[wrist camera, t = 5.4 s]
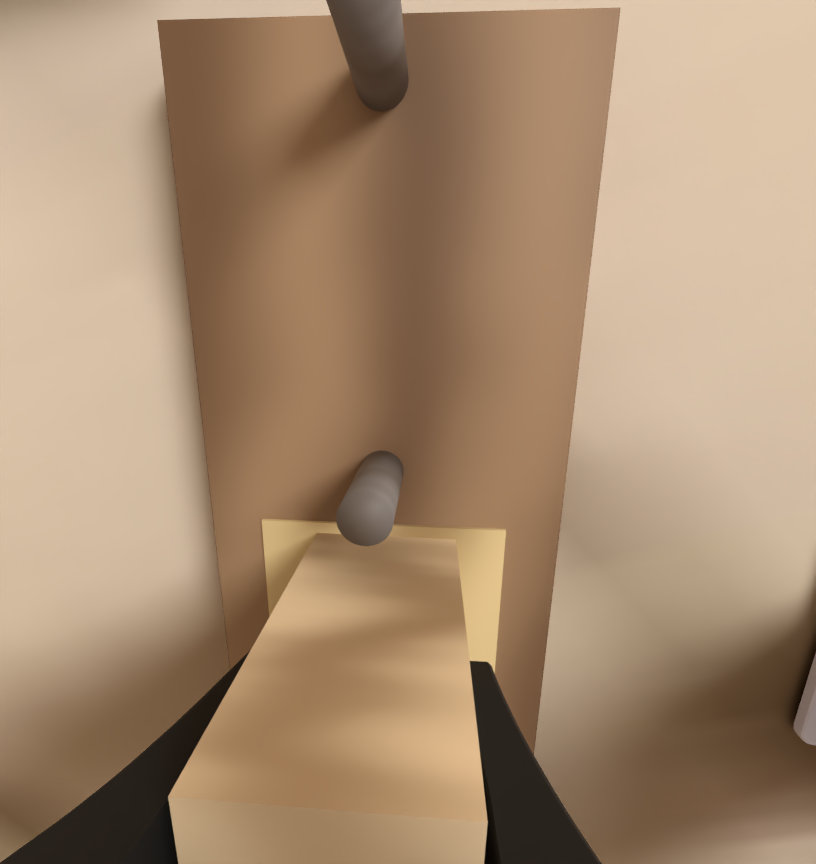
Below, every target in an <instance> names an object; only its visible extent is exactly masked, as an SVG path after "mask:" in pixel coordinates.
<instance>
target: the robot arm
mask: <svg viewBox="0 0 816 864" xmlns="http://www.w3.org/2000/svg"><path fill="white" fill-rule="evenodd" d="M250 651H251V650H250ZM250 651H249V652H250ZM249 652H248V653H247V654H246V655H245V656H244V657H243V658H242V659H241V660H240V661H239V662H238V663H237V664H236V665H235V666H234V667H233V668H232V669H231V670H230V671H229V672H228V673H227V674H226V675H225V676H224V677H223V678H222V679H221V680H220V681H219V682H218V683H217V684H215V685H214V686H213V687H212V688H211V689H210V690H209V691H208V692H207V693H206V694H205V695H204V696H203V697H202V698H201V699H200V700H199V701H198V702H197V703H196V704H195V705H194V706H193V707H192V708H191V709H190V710H189V711H188V712H186V713H185V714H184V715H183V716H182V717H181V718H180V719H179V720H178V721H177V722H176V723H175V724H174V725H173V726H172V727H171V728H170V729H168V730H167V731H166V732H165V733H164V734H163V735H162V736H161V737H159V738H158V739H157V740H156V741H155V742H154V743H153V744H152V745H150V746H149V747H148V748H147V749H146V750H145V751H144V752H143V753H141V754H140V755H139V756H138V757H137V758H136V759H135V760H134V761H132V762H131V763H130V764H129V765H128V766H127V767H125V768H124V769H123V770H122V771H121V772H119V773H118V774H117V775H116V776H115V777H113V778H112V779H111V780H110V781H109V782H107V783H106V784H105V785H104V786H102V787H101V788H100V789H99V790H98V791H96V792H95V793H94V794H92V795H91V796H90V797H89V798H87V799H86V800H85V801H84V802H82V803H81V804H80V805H79V806H77V807H76V808H75V809H73V810H72V811H71V812H70V813H68V814H67V815H66V816H64V817H63V818H62V819H60V820H59V821H58V822H56V823H55V824H53V825H52V826H51V827H49V828H48V829H46V830H45V831H44V832H42V833H41V834H40V835H38V836H37V837H35V838H34V839H33V840H31V841H30V842H28V843H27V844H26V845H24V846H23V847H21V848H20V849H19V850H17V851H16V852H14V853H13V854H12V855H10V856H9V857H7V858H6V859H5V860H3V861H2V862H1V863H0V864H178V858H177V852H176V845H175V839H174V832H173V826H172V819H171V813H170V806H169V800H168V796H169V794H170V792H171V790H172V789H173V787H174V785H175V783H176V782H177V780H178V778H179V776H180V774H181V773H182V771H183V769H184V767H185V766H186V764H187V762H188V760H189V759H190V757H191V755H192V753H193V751H194V750H195V748H196V746H197V744H198V743H199V741H200V739H201V737H202V736H203V734H204V732H205V730H206V728H207V727H208V725H209V723H210V721H211V720H212V718H213V716H214V714H215V713H216V711H217V709H218V707H219V705H220V704H221V702H222V700H223V698H224V697H225V695H226V693H227V691H228V690H229V688H230V686H231V684H232V682H233V681H234V679H235V677H236V675H237V674H238V672H239V670H240V668H241V667H242V665H243V663H244V661H245V659H246V658H247V656H248V654H249ZM470 669H471V678H472V687H473V696H474V704H475V713H476V722H477V731H478V740H479V749H480V758H481V767H482V776H483V784H484V793H485V802H486V811H487V820H488V825H487V836H486V847H485V858H484V864H601V862H600V861H599V859H598V858H597V856H596V855H595V853H594V852H593V850H592V849H591V847H590V846H589V844H588V843H587V841H586V840H585V838H584V837H583V836H582V834H581V833H580V831H579V830H578V828H577V826H576V825H575V823H574V822H573V820H572V819H571V817H570V816H569V814H568V812H567V811H566V809H565V808H564V806H563V804H562V803H561V801H560V799H559V798H558V796H557V794H556V793H555V791H554V789H553V788H552V786H551V784H550V783H549V781H548V779H547V778H546V776H545V774H544V773H543V771H542V769H541V767H540V765H539V764H538V762H537V760H536V758H535V757H534V755H533V753H532V751H531V749H530V747H529V745H528V743H527V742H526V740H525V738H524V736H523V734H522V732H521V730H520V728H519V726H518V725H517V723H516V721H515V719H514V717H513V714H512V712H511V710H510V708H509V706H508V704H507V702H506V700H505V697H504V695H503V693H502V691H501V688H500V686H499V684H498V681H497V679H496V676H495V674H494V671H493V668H492V666H491V665H490V664H489V663H488V662H482V661H470ZM793 729H794V730H795V732H796V733H797V735H798V736H799V737H800V738H801V739H802V740H803V741H804V742H805V743H807V744H811V745H816V653H815V657H814V660H813V663H812V666H811V670H810V673H809V676H808V679H807V682H806V686H805V689H804V692H803V695H802V699H801V702H800V705H799V708H798V711H797V715H796V718H795V721H794V728H793Z"/></svg>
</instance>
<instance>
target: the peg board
mask: <svg viewBox="0 0 816 864" xmlns="http://www.w3.org/2000/svg"><path fill="white" fill-rule="evenodd" d="M326 1H327V4H328V7H329V10H330V13H331V16H296V17H259V18H222V19H186V20H157V22H158V31H159V40H160V49H161V58H162V66H163V75H164V84H165V93H166V102H167V111H168V120H169V129H170V138H171V147H172V156H173V165H174V173H175V182H176V191H177V200H178V209H179V218H180V227H181V236H182V245H183V254H184V263H185V272H186V281H187V289H188V298H189V307H190V316H191V325H192V334H193V343H194V352H195V361H196V370H197V379H198V388H199V396H200V405H201V414H202V423H203V432H204V441H205V450H206V459H207V468H208V477H209V486H210V495H211V504H212V512H213V521H214V530H215V539H216V548H217V557H218V566H219V575H220V584H221V593H222V602H223V611H224V619H225V628H226V637H227V646H228V655H229V664H230V670H231V669H232V668H233V667H234V666H235V665H236V664H237V663H238V662H239V661H240V660H241V659H242V658H243V657H244V656H245V655H246V654H247V653H248V652H249V651H250V650H251V649H252V647H253V645H254V644H255V642H256V640H257V638H258V636H259V635H260V633H261V631H262V629H263V628H264V626H265V624H266V622H267V621H268V619H269V617H270V615H271V613H272V612H273V610H274V608H275V606H276V605H277V603H278V601H279V599H280V598H281V596H282V594H283V592H284V590H285V589H286V587H287V585H288V583H289V582H290V580H291V578H292V576H293V575H294V573H295V571H296V569H297V567H298V566H299V564H300V562H301V560H302V559H303V557H304V555H305V553H306V552H307V550H308V548H309V546H310V544H311V543H312V541H313V539H314V537H315V536H316V534H317V533H330V534H342V535H343V536H344V537H345V538H346V539H347V540H348V541H350V542H351V543H354V544H356V545H360V546H373V545H376V544H379V543H381V542H382V541H384V540H385V539H386V538H387V537H388V536H392V537H412V538H432V539H452V540H456V544H457V553H458V562H459V571H460V580H461V589H462V598H463V607H464V616H465V624H466V633H467V642H468V651H469V660H470V661H482V662H488V663H489V664H490V665H491V666H492V668H493V671H494V674H495V676H496V679H497V681H498V684H499V686H500V688H501V691H502V693H503V695H504V697H505V700H506V702H507V704H508V706H509V708H510V710H511V712H512V714H513V717H514V719H515V721H516V723H517V725H518V726H519V728H520V730H521V732H522V734H523V736H524V738H525V740H526V742H527V743H528V745H529V747H530V749H531V751H532V753H533V755H534V748H535V739H536V730H537V722H538V713H539V705H540V696H541V687H542V679H543V670H544V662H545V653H546V644H547V636H548V627H549V618H550V610H551V601H552V593H553V584H554V575H555V567H556V558H557V550H558V541H559V532H560V524H561V515H562V506H563V498H564V489H565V481H566V472H567V463H568V455H569V446H570V438H571V429H572V420H573V412H574V403H575V395H576V386H577V377H578V369H579V360H580V351H581V343H582V334H583V326H584V317H585V308H586V300H587V291H588V283H589V274H590V265H591V257H592V248H593V239H594V231H595V222H596V214H597V205H598V196H599V188H600V179H601V171H602V162H603V153H604V145H605V136H606V128H607V119H608V110H609V102H610V93H611V84H612V76H613V67H614V59H615V50H616V41H617V33H618V24H619V16H620V8H591V9H554V10H517V11H480V12H443V13H407V14H402V9H401V0H326Z"/></svg>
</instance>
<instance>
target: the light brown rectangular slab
mask: <svg viewBox="0 0 816 864" xmlns="http://www.w3.org/2000/svg"><path fill="white" fill-rule="evenodd" d="M168 800H169V806H170V813H171V819H172V826H173V832H174V839H175V845H176V852H177V858H178V864H484V858H485V847H486V836H487V825H488V820H487V811H486V802H485V793H484V784H483V776H482V767H481V758H480V749H479V740H478V731H477V722H476V713H475V704H474V696H473V687H472V678H471V669H470V660H469V651H468V642H467V633H466V624H465V616H464V607H463V598H462V589H461V580H460V571H459V562H458V553H457V544H456V540H452V539H432V538H412V537H392V536H388V537H387V538H386V539H385V540H384V541H382V542H381V543H379V544H376V545H373V546H360V545H356V544H354V543H351V542H350V541H348V540H347V539H346V538H345V537H344V536H343V535H342V534H330V533H317V534H316V536H315V537H314V539H313V541H312V543H311V544H310V546H309V548H308V550H307V552H306V553H305V555H304V557H303V559H302V560H301V562H300V564H299V566H298V567H297V569H296V571H295V573H294V575H293V576H292V578H291V580H290V582H289V583H288V585H287V587H286V589H285V590H284V592H283V594H282V596H281V598H280V599H279V601H278V603H277V605H276V606H275V608H274V610H273V612H272V613H271V615H270V617H269V619H268V621H267V622H266V624H265V626H264V628H263V629H262V631H261V633H260V635H259V636H258V638H257V640H256V642H255V644H254V645H253V647H252V649H251V651H250V652H249V654H248V656H247V658H246V659H245V661H244V663H243V665H242V667H241V668H240V670H239V672H238V674H237V675H236V677H235V679H234V681H233V682H232V684H231V686H230V688H229V690H228V691H227V693H226V695H225V697H224V698H223V700H222V702H221V704H220V705H219V707H218V709H217V711H216V713H215V714H214V716H213V718H212V720H211V721H210V723H209V725H208V727H207V728H206V730H205V732H204V734H203V736H202V737H201V739H200V741H199V743H198V744H197V746H196V748H195V750H194V751H193V753H192V755H191V757H190V759H189V760H188V762H187V764H186V766H185V767H184V769H183V771H182V773H181V774H180V776H179V778H178V780H177V782H176V783H175V785H174V787H173V789H172V790H171V792H170V794H169V796H168Z"/></svg>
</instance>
